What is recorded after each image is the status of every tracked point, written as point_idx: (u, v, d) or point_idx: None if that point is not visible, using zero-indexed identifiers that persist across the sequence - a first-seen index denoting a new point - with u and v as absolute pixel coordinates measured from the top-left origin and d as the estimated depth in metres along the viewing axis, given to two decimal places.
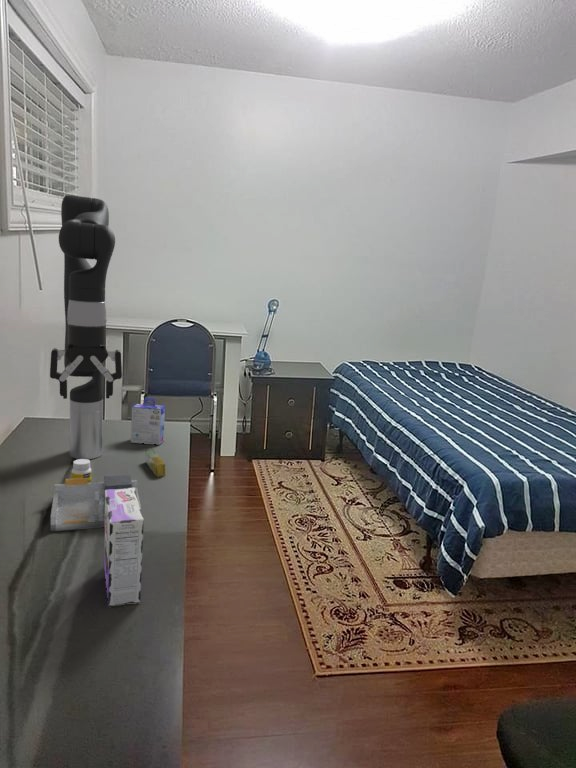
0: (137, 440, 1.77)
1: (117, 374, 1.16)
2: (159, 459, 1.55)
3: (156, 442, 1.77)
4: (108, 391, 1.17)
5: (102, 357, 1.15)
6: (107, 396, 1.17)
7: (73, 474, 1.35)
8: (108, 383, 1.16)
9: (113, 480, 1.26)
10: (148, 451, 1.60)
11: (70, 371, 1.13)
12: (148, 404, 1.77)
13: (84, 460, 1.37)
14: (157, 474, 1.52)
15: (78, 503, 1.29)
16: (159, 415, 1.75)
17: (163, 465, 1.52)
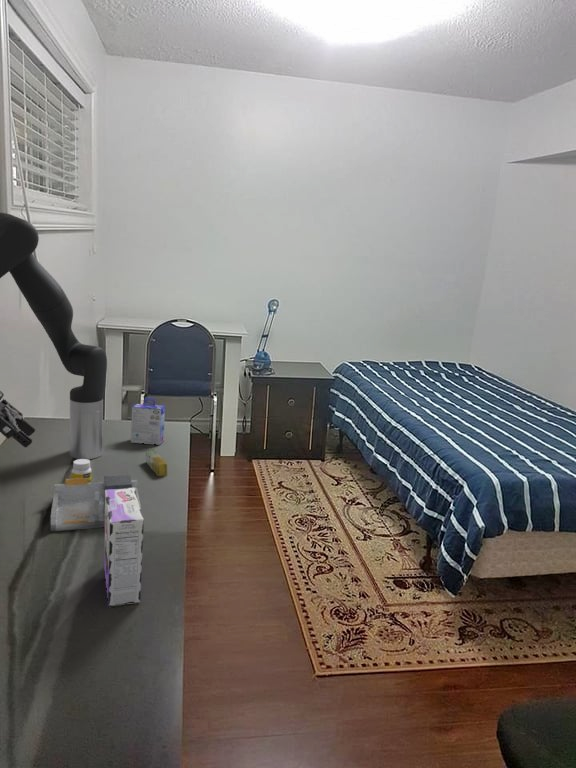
0: (137, 440, 1.77)
1: None
2: (160, 459, 1.55)
3: (156, 442, 1.77)
4: None
5: None
6: None
7: (73, 474, 1.35)
8: None
9: (113, 480, 1.26)
10: (148, 451, 1.60)
11: None
12: (148, 404, 1.77)
13: (84, 460, 1.37)
14: (159, 474, 1.52)
15: (78, 503, 1.29)
16: (159, 415, 1.75)
17: (165, 465, 1.52)
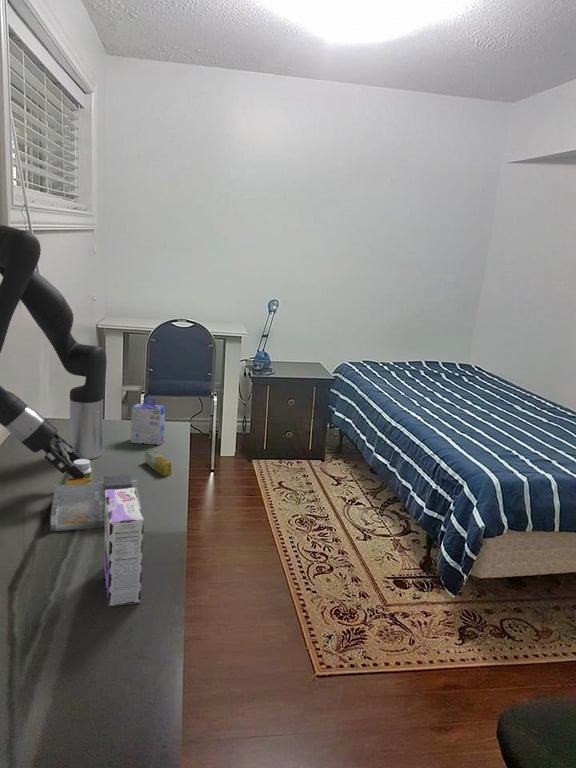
0: (137, 440, 1.77)
1: None
2: (163, 458, 1.56)
3: (156, 442, 1.77)
4: None
5: None
6: None
7: None
8: None
9: (113, 480, 1.26)
10: (148, 451, 1.60)
11: None
12: (148, 404, 1.77)
13: (84, 460, 1.37)
14: (164, 473, 1.53)
15: (78, 503, 1.29)
16: (159, 415, 1.75)
17: (169, 464, 1.53)
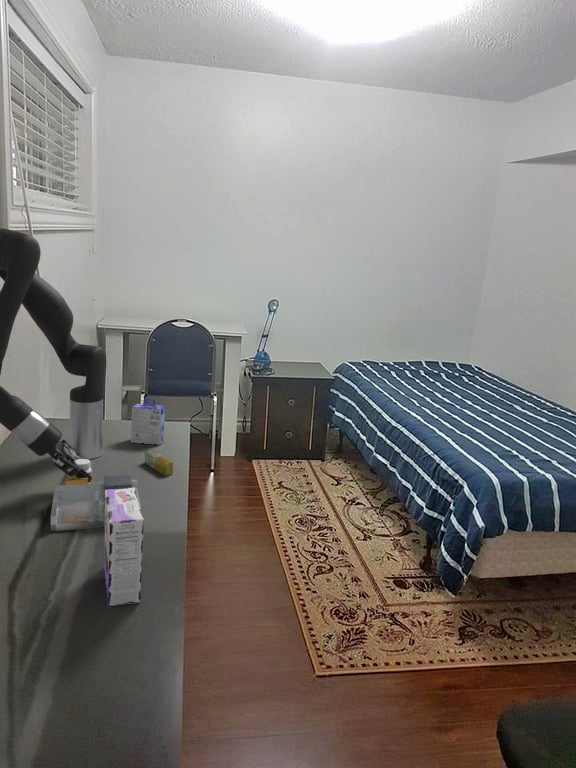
0: (137, 440, 1.77)
1: None
2: (164, 458, 1.56)
3: (156, 442, 1.77)
4: None
5: None
6: None
7: None
8: None
9: (113, 480, 1.26)
10: (148, 451, 1.60)
11: None
12: (148, 404, 1.77)
13: (84, 459, 1.37)
14: (166, 473, 1.53)
15: (78, 503, 1.29)
16: (159, 415, 1.75)
17: (171, 463, 1.54)
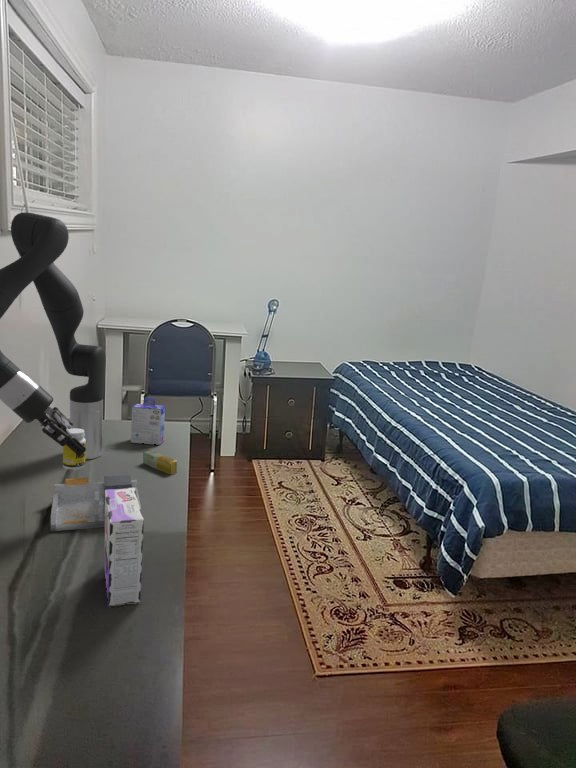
0: (137, 440, 1.77)
1: None
2: (166, 457, 1.57)
3: (156, 442, 1.77)
4: None
5: None
6: None
7: None
8: None
9: (113, 480, 1.26)
10: (147, 452, 1.60)
11: None
12: (148, 404, 1.77)
13: (77, 429, 1.23)
14: (170, 472, 1.54)
15: (78, 503, 1.29)
16: (159, 415, 1.75)
17: (175, 462, 1.55)
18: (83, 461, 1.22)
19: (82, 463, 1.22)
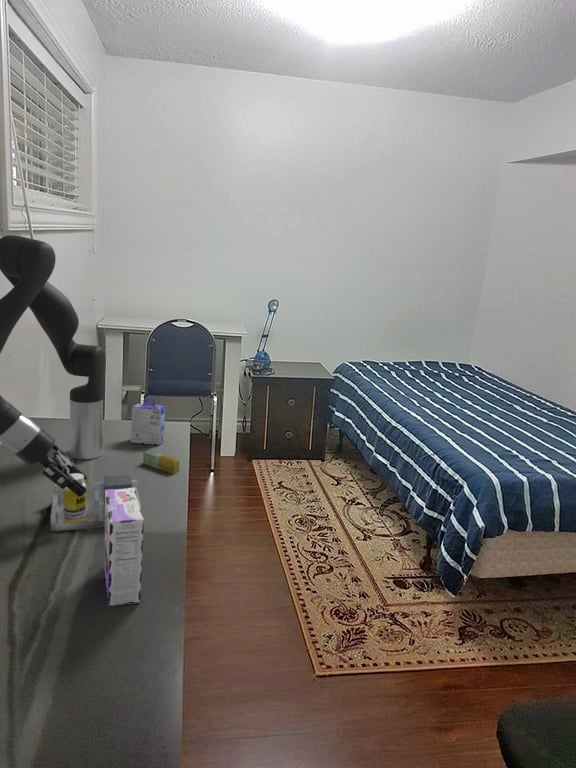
0: (137, 440, 1.77)
1: None
2: (168, 456, 1.57)
3: (156, 442, 1.77)
4: None
5: None
6: None
7: (65, 491, 1.22)
8: None
9: (113, 480, 1.26)
10: (147, 452, 1.60)
11: None
12: (148, 404, 1.77)
13: (77, 474, 1.24)
14: (173, 471, 1.55)
15: None
16: (159, 415, 1.75)
17: (178, 461, 1.56)
18: (83, 506, 1.24)
19: (83, 507, 1.24)
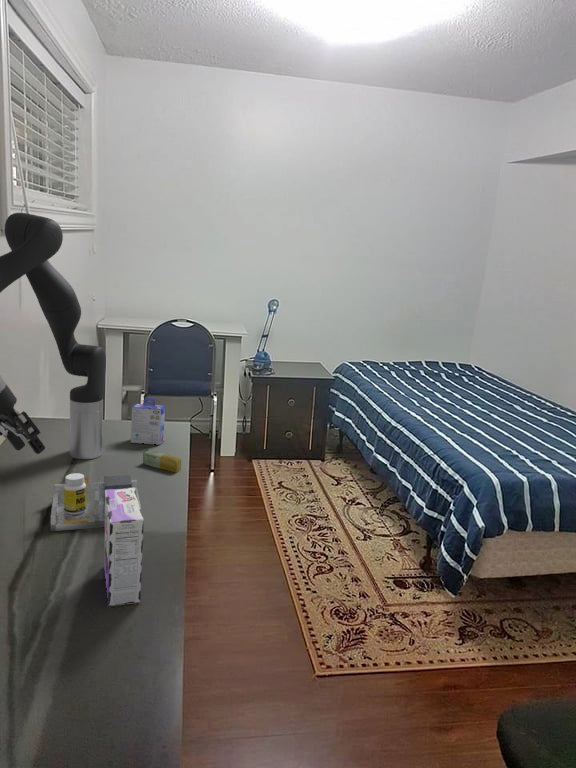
0: (137, 440, 1.77)
1: (27, 436, 1.15)
2: (169, 456, 1.58)
3: (156, 442, 1.77)
4: (33, 449, 1.18)
5: (10, 422, 1.16)
6: (35, 452, 1.19)
7: (65, 490, 1.22)
8: (28, 442, 1.18)
9: (113, 480, 1.26)
10: (147, 452, 1.60)
11: (2, 432, 1.20)
12: (148, 404, 1.77)
13: (77, 474, 1.24)
14: (176, 470, 1.56)
15: None
16: (159, 415, 1.75)
17: (180, 460, 1.57)
18: (83, 506, 1.24)
19: (83, 507, 1.24)
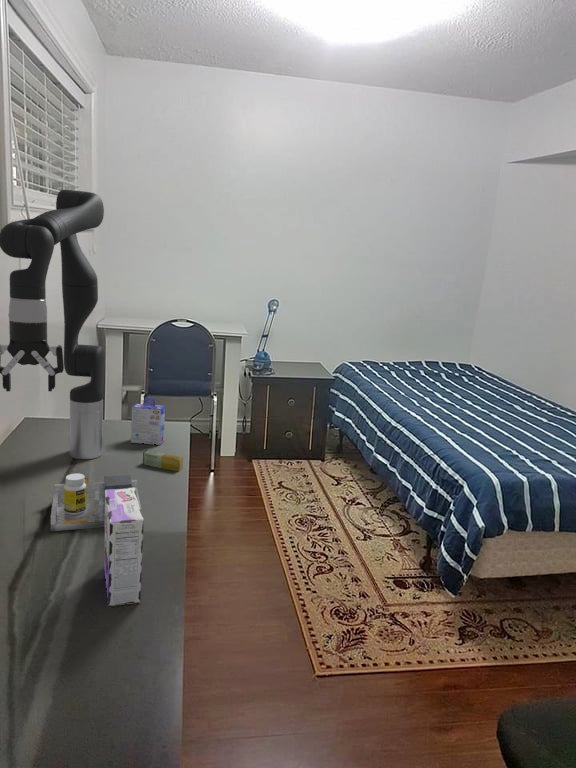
0: (137, 440, 1.77)
1: (58, 368, 1.23)
2: (170, 455, 1.59)
3: (156, 442, 1.77)
4: (50, 384, 1.23)
5: (43, 352, 1.21)
6: (49, 389, 1.23)
7: (65, 491, 1.22)
8: (50, 377, 1.22)
9: (113, 480, 1.26)
10: (147, 452, 1.59)
11: (12, 365, 1.19)
12: (148, 404, 1.77)
13: (78, 474, 1.24)
14: (179, 468, 1.57)
15: None
16: (159, 415, 1.75)
17: (182, 459, 1.58)
18: (83, 506, 1.24)
19: (83, 508, 1.24)
